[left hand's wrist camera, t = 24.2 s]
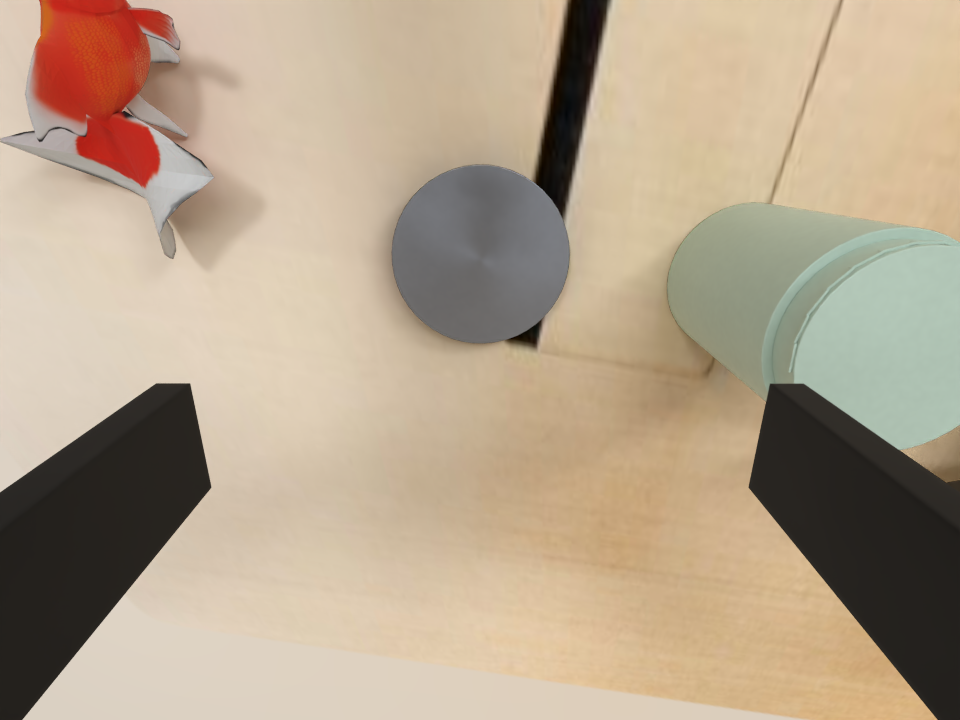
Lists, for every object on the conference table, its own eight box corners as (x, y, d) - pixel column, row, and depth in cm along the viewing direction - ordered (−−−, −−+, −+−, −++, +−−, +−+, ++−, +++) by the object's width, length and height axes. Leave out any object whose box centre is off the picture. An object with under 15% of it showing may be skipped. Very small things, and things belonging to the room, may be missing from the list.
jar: (831, 200, 35) (1071, 229, 21) (802, 347, 39) (991, 458, 25) (674, 204, 36) (806, 236, 21) (660, 351, 39) (765, 464, 25)
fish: (261, -19, 27) (71, 8, 20) (277, 240, 38) (158, 314, 31) (99, -86, 29) (-125, -82, 22) (160, 179, 40) (23, 237, 33)
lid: (365, 212, 36) (358, 216, 34) (523, 132, 34) (526, 130, 32) (443, 358, 39) (441, 369, 37) (590, 292, 38) (596, 300, 36)
